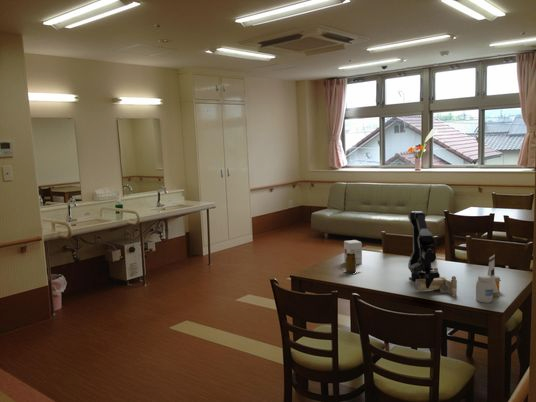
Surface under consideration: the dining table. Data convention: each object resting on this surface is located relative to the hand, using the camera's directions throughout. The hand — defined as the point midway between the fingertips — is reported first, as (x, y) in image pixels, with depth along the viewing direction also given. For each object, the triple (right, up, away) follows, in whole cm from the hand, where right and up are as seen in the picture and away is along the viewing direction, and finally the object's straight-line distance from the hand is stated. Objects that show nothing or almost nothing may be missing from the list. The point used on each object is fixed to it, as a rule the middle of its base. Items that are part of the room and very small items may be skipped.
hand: (425, 287), depth 245 cm
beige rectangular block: (+2, -1, 0) cm, 3 cm away
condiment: (-31, +1, +43) cm, 53 cm away
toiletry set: (+29, -3, -10) cm, 31 cm away
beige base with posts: (+10, -2, +2) cm, 10 cm away
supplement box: (-26, +4, +65) cm, 70 cm away
